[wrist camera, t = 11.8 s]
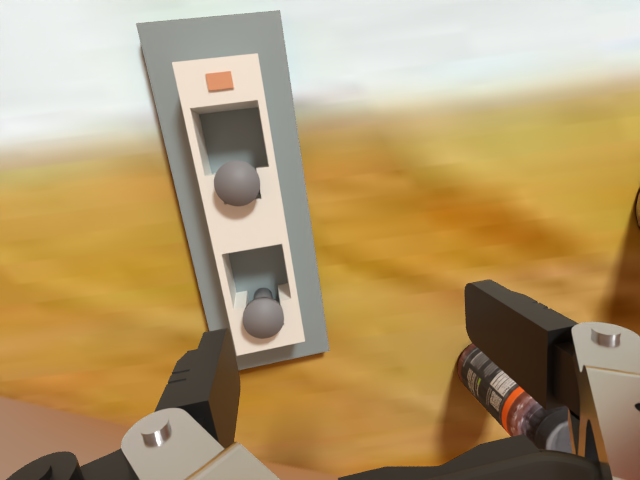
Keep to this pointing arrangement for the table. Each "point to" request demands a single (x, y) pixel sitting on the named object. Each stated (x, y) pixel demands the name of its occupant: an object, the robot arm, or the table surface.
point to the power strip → (249, 220)
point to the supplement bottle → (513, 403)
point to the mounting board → (239, 148)
